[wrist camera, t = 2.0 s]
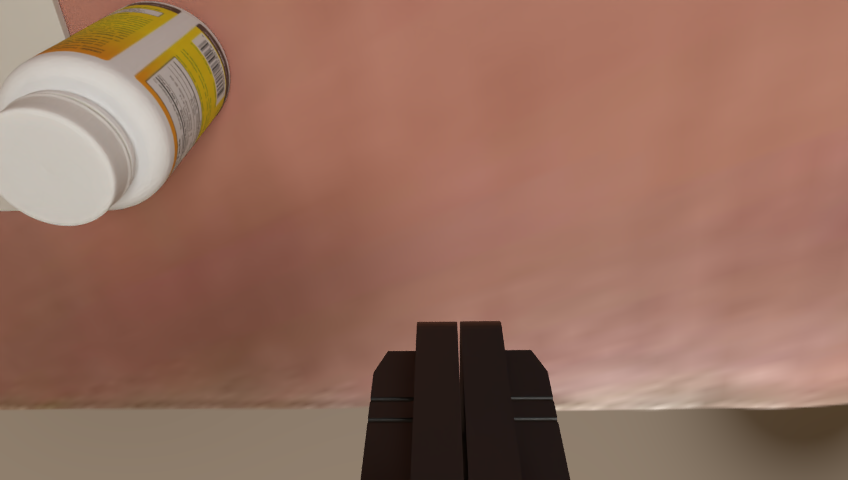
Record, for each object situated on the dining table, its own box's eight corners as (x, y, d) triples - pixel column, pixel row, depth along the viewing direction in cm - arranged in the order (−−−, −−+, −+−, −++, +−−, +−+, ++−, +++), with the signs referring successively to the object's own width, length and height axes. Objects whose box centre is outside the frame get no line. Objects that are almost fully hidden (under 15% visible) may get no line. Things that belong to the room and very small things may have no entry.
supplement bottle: (82, 67, 27) (-83, 174, 18) (144, -33, 25) (-13, 36, 16) (193, 147, 29) (90, 277, 20) (259, 61, 27) (176, 167, 18)
